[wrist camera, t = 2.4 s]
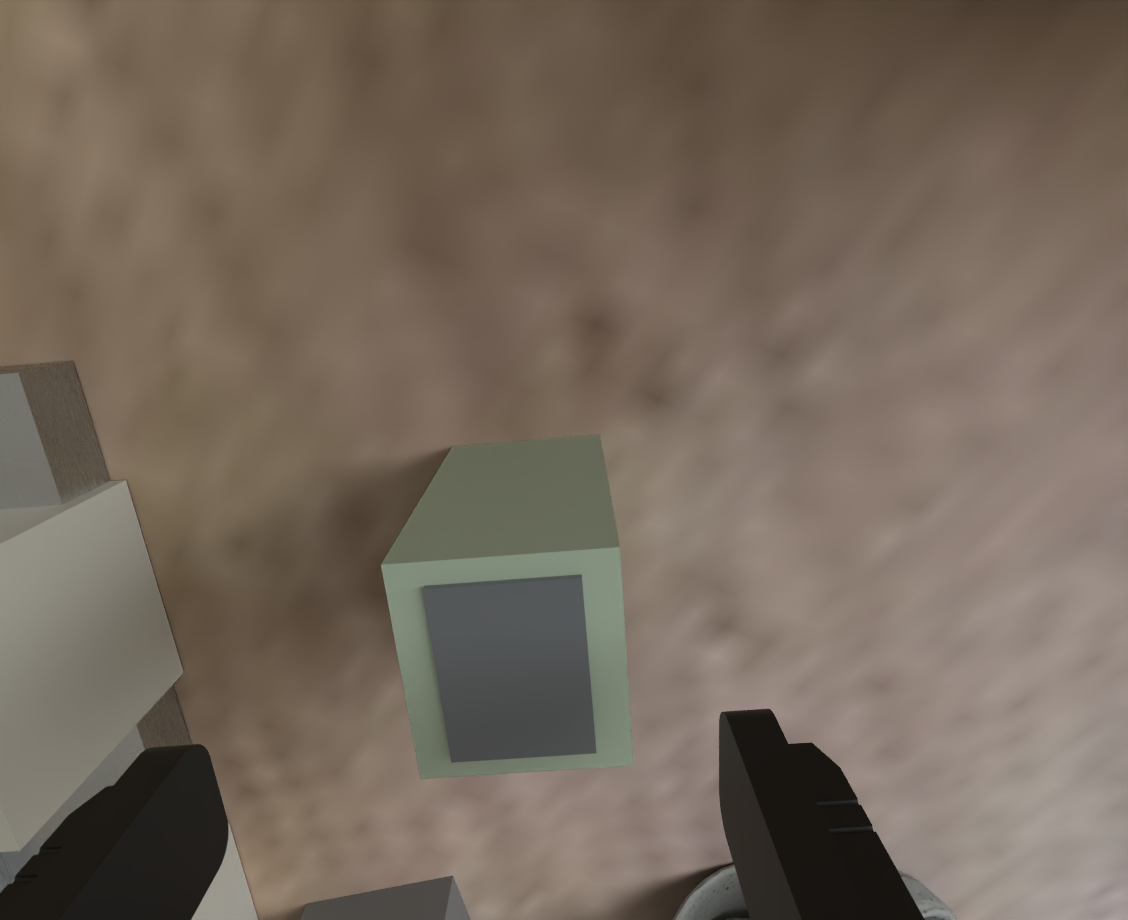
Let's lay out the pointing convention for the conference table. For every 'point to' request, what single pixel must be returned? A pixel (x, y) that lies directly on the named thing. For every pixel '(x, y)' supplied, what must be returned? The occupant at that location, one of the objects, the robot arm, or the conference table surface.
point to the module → (513, 612)
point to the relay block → (395, 904)
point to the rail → (54, 477)
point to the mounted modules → (82, 662)
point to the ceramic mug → (721, 915)
